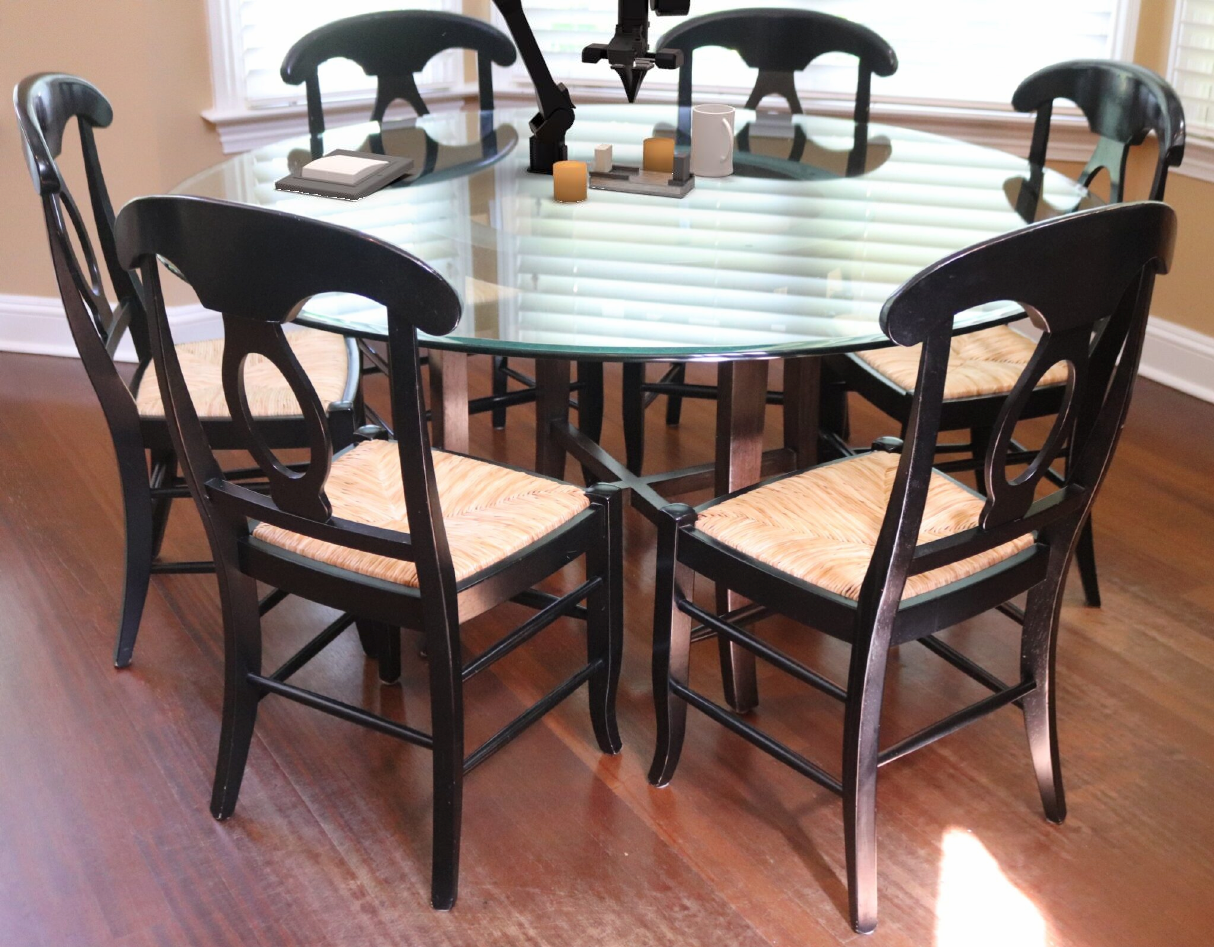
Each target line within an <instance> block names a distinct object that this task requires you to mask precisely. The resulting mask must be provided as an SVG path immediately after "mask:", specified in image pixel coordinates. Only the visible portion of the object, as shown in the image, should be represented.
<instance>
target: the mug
mask: <svg viewBox="0 0 1214 947" xmlns="http://www.w3.org/2000/svg"><path fill="white" fill-rule="evenodd" d="M691 113H692V114H691V116H692V117H691V138H690V140H691V141H690V142H691V143H690V172H692V173H694V176H698V177H703V178H704V177H705V178H721V177H727V176H730V175H732V174H733V173H734V167H733V158H734V157H733V154H734V139H735V137H734V136H735V122H736V121H735V120H736V118H735V117H736V108H735V107H734V106H730V105H726V104H720V103H719V104H718V103H703V104H698V105H695V106H693V107H692V112H691Z"/></svg>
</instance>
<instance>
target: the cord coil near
mask: <svg viewBox="0 0 1214 947" xmlns="http://www.w3.org/2000/svg"><path fill="white" fill-rule="evenodd" d="M552 175H553V176H552V177H553V200H555V201H556V200H559V201H562V202H561V203H564V202H576V203H578V202H577V201H582V200H584V201H586V200H587V199H588V194H587V193H588V182H587V181H588V176H587V175H588V164H587V163H585V162H584V161H578V160H568V161H560V162H557V163H554V164H553V174H552ZM586 198H587V199H586ZM585 199H586V200H585ZM559 201H558V202H559ZM582 202H583V201H582Z"/></svg>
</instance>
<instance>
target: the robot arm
mask: <svg viewBox="0 0 1214 947" xmlns="http://www.w3.org/2000/svg"><path fill="white" fill-rule="evenodd" d="M491 1H492V3H493V4H494V5H495V7H496V9H497V10H498V11H499V13H500V14H501V16H502V17H503V19H504V22H505V24H506V26H507V28H508V31H509V34H510V35H511V38H512V41H513V42H514V45H515V47H516V49H517V51H518V53H519V56H520V58H521V60H522V63H523V65H524V67H525V69H526V71H527V74H528V75H529V76H528V77H530V80H531V83H532V86H533V90H534V94H535V96H534V97H535V99H536V105H537V108H538V111H537V112H536V114H535V115H534V116H533V117H532V118H531V119H530V120H529V121H528V127H529V129H530V132H531V133H532V134H533V135H531V136H529V138H528V139H529V166H528V167H526V172H531V173H541V174H550V175H553V164H554V163H557V162H560V161H569V159H568V158H569V156H568V155H569V154H568V153H569V152H568V151H569V146H568V145H567V144H566V134H567V131H568V130H570V129H571V128H572V126H573V125H574V123H575V120H576V115H575V114H576V113H575V110H576V109H577V106H576V105H575V104H574V103H573V101H572V99H571V95H570V92H569V88H568V87H567V86H566V85H565V84H564V83H563V82H562V81H561V82H560V83H558V84H557V83H556V82H555V80H554V78H553V77H552V74H551V72H550V70H549V66H548V64H547V62H546V61H545V57H544V55H543V54H542V51H541V49H540V46H539V44H538V42H537V40H536V37H535V35H534V32H533V30H532V28H531V26H530V24H529V22H528V18H527V17H526V14H525V12H524V9H523V3H522V0H491ZM690 8H691V0H617V23H616V24H615V28H614V34H613V37H612V38H611V39H610V41H609V42H608V44H607V43H598V42H597V43H596V42H595V43H594V42H593V43H590V44H588V45H586V46H585V47H584V48H583V49H582V51H581V63H583V64H592V65H593V64H594V65H596V64H598V63H599V62H600V61H601V60H607V61H608V64H609V65H610V66H609V68H610V70H611V71H612V70H614V71H615V72H616V73H617V74H618V76H619V78H620V81H621V83H622V85H623V88H624V92H625V95H626V97H627V101H628V103H629V104H634V103H635V102H636V99H637V97H638V94H639V92H640V89H641V86H642V84H643V81H644V79H645V77H646V76H647V74H648V71H650V70H652V69H654V68H655V66H656V67H657V69H658V70H659V69H660V70H671V71H672V70H673V71H674V70H677V69H679V68H680V67H682V66H683V65H684V62H685V61H684V58H685V56H684V52H683V51H682V49H681V48H680V49H679V48H668V47H667V48H665V47H664V48H662V49H660V50H658V51H657V52H650V44H649V28H651V21H649V12H650V11H651V12H654V13H655V16H656V17H657V18H658V17H661V18H662V17H684V16H685V17H686V16H688V15H689V14H690V13H689V12H690V10H691V9H690ZM649 10H650V11H649ZM634 65H635V66H634Z"/></svg>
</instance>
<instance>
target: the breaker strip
mask: <svg viewBox="0 0 1214 947" xmlns="http://www.w3.org/2000/svg"><path fill="white" fill-rule="evenodd" d="M588 176H589V177H588V188H589V187H595V188H604V189H609V190H608V191H612V190H617V191H616V192H621V191H623V193H631V194H640V195H649V194H651V195H650V196H657V197H659V196H660V197H667V196H668V197H669V198H676V197H678V199H684V197H685V196H686V195H687V194H688V193H689V192H690V191H691V190H692V189H693V188H695V187H696V186H695V185H696V183H695V182H696V181H695V180H696V175H694V173H692V172H690V174H689V178H687V179H686V180H675V179H673V174H672V173H662V172H652V171H643V169H642V170H640V167H639V166H632V165H623V164H613V163H612V169H611V170H610V171H608V172H598V171H595V170H589V171H588Z"/></svg>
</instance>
